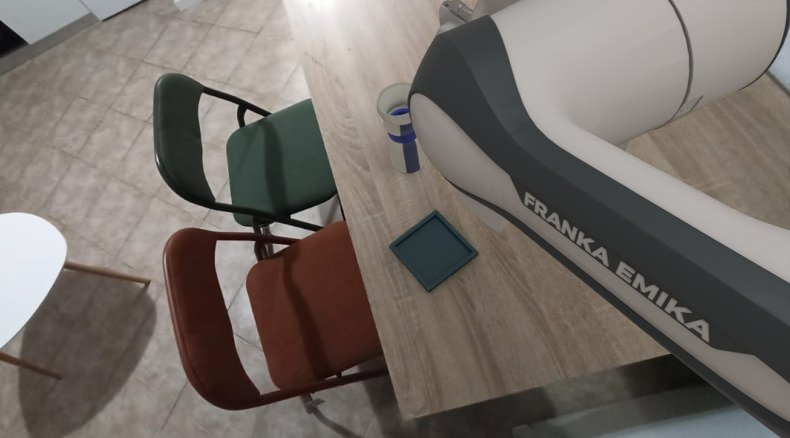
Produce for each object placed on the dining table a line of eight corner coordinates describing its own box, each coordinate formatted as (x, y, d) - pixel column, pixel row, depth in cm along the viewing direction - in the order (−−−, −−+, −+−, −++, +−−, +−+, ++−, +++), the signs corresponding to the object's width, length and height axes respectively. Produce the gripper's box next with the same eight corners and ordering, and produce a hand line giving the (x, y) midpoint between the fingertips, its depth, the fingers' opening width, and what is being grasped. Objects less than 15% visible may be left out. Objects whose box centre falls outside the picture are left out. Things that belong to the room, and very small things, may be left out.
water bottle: (421, 134, 95) (412, 48, 73) (434, 166, 91) (428, 85, 69) (384, 147, 96) (364, 66, 74) (395, 179, 92) (378, 103, 70)
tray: (478, 255, 81) (478, 252, 79) (428, 293, 81) (428, 291, 79) (436, 212, 86) (436, 209, 85) (389, 247, 86) (388, 245, 85)
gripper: (413, 10, 40) (422, 104, 52) (601, 148, 30) (558, 224, 43) (468, -30, 40) (464, 73, 53) (672, 95, 31) (609, 186, 43)
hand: (507, 142), depth 47 cm, fingers closed on milk carton, 7 cm apart
